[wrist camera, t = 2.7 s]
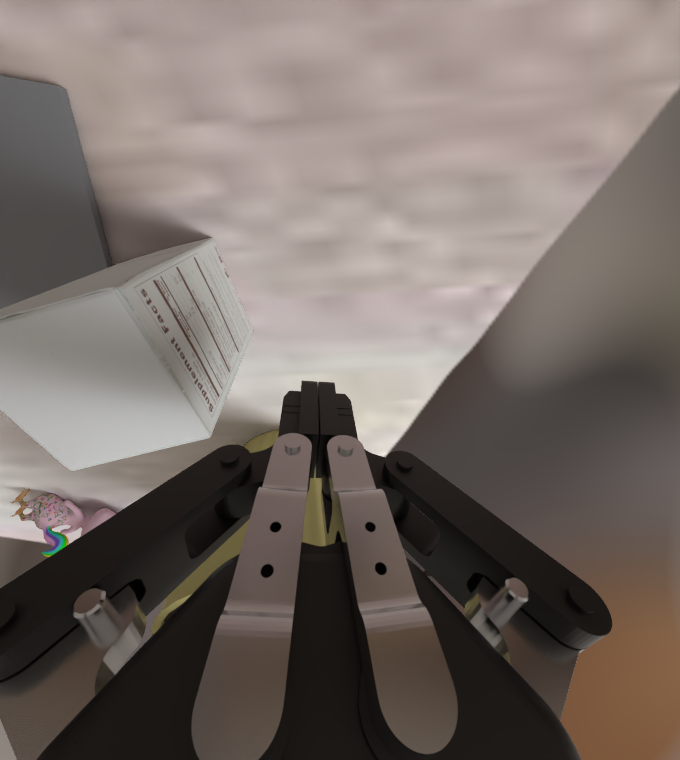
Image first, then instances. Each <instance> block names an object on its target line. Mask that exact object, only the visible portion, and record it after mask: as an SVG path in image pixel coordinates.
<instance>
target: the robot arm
mask: <svg viewBox="0 0 680 760" xmlns="http://www.w3.org/2000/svg"><path fill="white" fill-rule="evenodd" d="M315 472H316V478H321V479H322V487H321V505H322V514H323V523H324V532H325V544H326V546H316V545H312V544H308V543H304V542H302V538H303V529H304V520H305V510H306V501H307V493H308V491H309V488H310V479H311V478H314V473H315ZM411 503H412V504H413V505H414V506H413V505H412V504H411ZM417 508H418V509H419V510H420V511H421V512H422V513H421V512H420V511H419V510H418V509H417ZM423 514H425V515H426V516H427V517H428V518H429V519H428V518H427V517H426V516H425V515H423ZM248 520H249V523H248V527H247V530H246V534H245V537H244V541H243V544H242V548H241V552H240V554H238V555H236V556H235V557H233V558H231V559H229V560H228V561H226V562H225V563H223V564H222V565H221V566H220V567H218V568H217V569H216V570H215V571H214V572H213V573H212V574H211V575H210V576H209V577H208V578H207V579H206V580H205V581H204V582H203V583H202V584H201V585H200V586H199V587H198V588H197V589H196V590H195V592H194V593H193V594H192V595H191V596H190V597H189V598H188V599H187V600H186V601H185V602H184V603H183V604H182V605H181V606H180V607H179V608H178V609H177V610H176V611H175V613H174V614H173V615H172V616H171V617H170V618H169V619H168V620H167V621H166V622H165V623H164V624H163V625H162V626H161V627H160V628H159V629H158V630H157V631H156V632H155V634H154V635H153V636H152V637H151V638H150V639H149V640H148V641H147V642H146V643H145V644H144V645H143V646H142V647H141V648H140V649H139V650H138V651H137V652H136V653H135V655H134V656H133V657H132V658H131V659H130V660H129V661H128V662H127V663H126V664H125V665H124V666H123V664H124V663H125V661H126V660H127V659H128V658H129V657H130V655H131V654H132V653H133V652H134V651H135V649H136V648H137V646H138V645H139V643H140V641H141V639H142V637H143V634H144V631H145V627H146V616H147V615H148V614H149V613H150V612H151V611H152V610H153V609H154V608H155V607H156V606H157V605H159V604H160V603H161V602H162V601H163V600H164V599H165V598H166V597H167V596H168V595H169V594H170V593H171V592H172V591H174V590H175V589H176V588H177V587H178V586H179V585H180V584H181V583H182V582H183V581H184V580H185V579H186V578H187V577H188V576H190V575H191V574H192V573H193V572H194V571H195V570H196V569H197V568H198V567H199V566H200V565H201V564H202V563H203V562H204V561H206V560H207V559H208V558H209V557H210V556H211V555H212V554H213V553H214V552H215V551H216V550H217V549H218V548H219V547H220V546H222V545H223V544H224V543H225V542H226V541H227V540H228V539H229V538H230V537H231V536H232V535H233V534H234V533H235V532H236V531H238V530H239V529H240V528H241V527H242V526H243V525H244V524H245V523H246V522H247V521H248ZM432 521H433V522H434V523H435V524H436V525H435V524H434V523H433V522H432ZM403 548H404V549H405V550H406V551H407V552H408V553H409V554H410V555H411V556H412V557H413V558H414V559H415V560H416V561H417V562H418V563H419V564H420V565H421V566H422V567H423V568H424V569H425V570H426V571H427V572H428V573H429V574H430V575H431V576H432V577H433V578H434V579H435V580H436V581H437V582H438V583H439V584H440V585H441V586H442V587H443V588H444V589H445V590H446V591H448V592H449V594H450V595H451V596H452V597H454V599H456V600H457V601H458V602H459V603H460V604H461V605H462V606H463V607H464V608H465V614H466V617H465V616H464V615H463V614H462V613H461V612H460V611H459V610H458V609H457V608H456V607H455V605H454V604H453V603H452V602H451V601H450V600H449V599H448V598H447V597H446V596H445V595H444V594H443V593H442V592H441V591H440V590H439V589H438V588H437V586H436V585H435V584H434V583H433V582H432V581H431V580H430V579H429V578H428V577H427V576H426V575H425V574H424V573H423V572H422V571H421V570H420V569H419V568H418V567H417V566H416V565H415V564H414V563H413V562H412V561H410V560H409V559H407V558H406V557H405V554H404V551H403ZM611 628H612V619H611V615H610V613H609V610H608V608H607V606H606V605H605V603H604V602H603V600H602V599H601V598H600V596H599V595H598V594H597V593H596V592H595V591H594V590H593V589H592V588H591V587H590V586H589V585H588V584H586V583H585V582H584V581H583V580H581V579H580V578H579V577H577V576H576V575H575V574H573V573H572V572H570V571H569V570H568V569H566V568H565V567H564V566H562V565H561V564H560V563H558V562H557V561H556V560H554V559H553V558H552V557H550V556H549V555H548V554H546V553H545V552H544V551H542V550H541V549H539V548H538V547H536V546H535V545H534V544H533V543H531V542H530V541H529V540H527V539H526V538H524V537H523V536H522V535H521V534H519V533H518V532H517V531H515V530H514V529H512V528H511V527H510V526H508V525H507V524H506V523H504V522H503V521H502V520H500V519H499V518H498V517H496V516H495V515H494V514H492V513H491V512H490V511H488V510H487V509H485V508H484V507H483V506H482V505H480V504H479V503H477V502H476V501H475V500H473V499H472V498H471V497H469V496H468V495H467V494H465V493H464V492H462V491H461V490H460V489H459V488H457V487H456V486H455V485H453V484H452V483H450V482H449V481H448V480H446V479H445V478H444V477H442V476H441V475H439V474H438V473H437V472H436V471H434V470H433V469H432V468H430V467H429V466H427V465H426V464H425V463H424V462H422V461H421V460H419V459H418V458H417V457H415V456H414V455H412V454H410V453H408V452H404V451H394V452H391V453H389V454H388V455H387V457H386V458H385V457H381V456H378V455H375V454H372V453H370V452H368V451H366V450H365V449H364V447H363V445H362V443H361V442H360V441H359V440H358V438H357V432H356V427H355V421H354V416H353V410H352V405H351V401H350V399H349V398H348V397H347V396H346V395H345V394H336V391H335V383H331V382H319V383H318V382H314V381H302V385H301V392H300V391H289V392H288V393H287V394H286V395H285V396H284V399H283V407H282V413H281V420H280V427H279V434H278V438H277V439H276V441H275V442H274V444H273V445H272V446H271V447H269V448H267V449H265V450H262V451H258V452H254V453H250V452H249V450H248V449H246V448H245V447H243V446H240V445H226V446H223V447H220V448H218V449H216V450H215V451H213V452H212V453H210V454H209V455H207V456H206V457H204V458H202V459H201V460H199V461H198V462H196V463H195V464H193V465H192V466H190V467H188V468H187V469H185V470H184V471H182V472H181V473H179V474H178V475H176V476H174V477H173V478H171V479H170V480H168V481H167V482H165V483H164V484H162V485H160V486H159V487H157V488H156V489H154V490H153V491H151V492H150V493H148V494H146V495H145V496H143V497H142V498H140V499H139V500H137V501H136V502H134V503H132V504H131V505H129V506H128V507H126V508H125V509H123V510H122V511H120V512H118V513H117V514H115V515H114V516H112V517H111V518H109V519H108V520H106V521H104V522H103V523H101V524H100V525H98V526H97V527H95V528H94V529H92V530H90V531H89V532H87V533H86V534H84V535H83V536H81V537H80V538H78V539H76V540H75V541H73V542H72V543H70V544H69V545H67V546H66V547H64V548H62V549H61V550H59V551H58V552H56V553H55V554H53V555H52V556H50V557H48V558H47V559H45V560H44V561H42V562H41V563H39V564H38V565H36V566H35V567H33V568H31V569H30V570H28V571H27V572H25V573H24V574H22V575H21V576H19V577H17V578H16V579H14V580H13V581H11V582H10V583H8V584H7V585H5V586H3V587H2V588H0V719H1V722H2V724H3V727H4V729H5V732H6V734H7V737H8V739H9V741H10V744H11V746H12V749H13V751H14V754H15V756H16V758H17V760H581V758H580V756H579V753H578V751H577V749H576V747H575V745H574V743H573V742H572V740H571V738H570V736H569V734H568V733H567V731H566V729H565V728H564V726H563V725H562V723H561V721H560V719H561V716H562V712H563V708H564V705H565V701H566V697H567V694H568V689H569V686H570V683H571V678H572V675H573V671H574V668H575V664H576V661H577V657H578V654H579V653H580V652H582V651H583V650H585V649H586V648H588V647H589V646H591V645H592V644H593V643H595V642H597V641H598V640H599V639H601V638H602V637H604V636H605V635H607V634H608V633H609V632H610V631H611ZM122 666H123V667H122ZM121 667H122V668H121ZM120 668H121V669H120Z"/></svg>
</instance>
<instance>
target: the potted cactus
mask: <svg viewBox="0 0 680 760" xmlns="http://www.w3.org/2000/svg"><path fill="white" fill-rule="evenodd" d="M278 434H279V430H275V431H270V432H266V433H264V434H261V435H259V436H257V437H255V438H253V439H252V440H250V441H249V442H248V443H247V444H246V445H245V446H244V447H245V448H246V449H248V450H249V452H250V453H254V452H258V451H262V450H265V449H267V448H269V447H271V446H272V445H273V444H274V442H275V441H276V439H277V438H278ZM321 487H322V479H321V478H316V472H315V473H314V478H311V479H310V488H309V491H308V493H307V501H306V510H305V520H304V529H303V538H302V542H304V543H308V544H312V545H316V546H326V544H325V532H324V523H323V514H322V505H321ZM248 523H249V520H248V521H247V522H246V523H245V524H244V525H243V526H242V527H241V528H240V529H239V530H238V531H236V532H235V533H234V534H233V535H232V536H231V537H230V538H229V539H228V540H227V541H226V542H225V543H224V544H223V545H222V546H220V547H219V548H218V549H217V550H216V551H215V552H214V553H213V554H212V555H211V556H210V557H209V558H208V559H207V560H206V561H204V562H203V563H202V564H201V565H200V566H199V567H198V568H197V569H196V570H195V571H194V572H193V573H192V574H191V575H190V576H188V577H187V578H186V579H185V580H184V581H183V582H182V583H181V584H180V585H179V586H178V587H177V588H176V589H175V590H174V591H172V592H171V593H170V594H169V595H168V596H167V598H166V600H165V603H164V605H163V608H162V610H161V612H160V613H159V615H158V616H157V617H156V618H155V620H154V622H153V627H152V631H151V632H152V635H154V634H155V632H156V631H157V630H158V629H159V628H160V627H161V626H162V625H163V624H164V623H165V622H166V621H167V620H168V619H169V618H170V617H171V616H172V615H173V614H174V613H175V611H176V610H177V609H178V608H179V607H180V606H181V605H182V604H183V603H184V602H185V601H186V600H187V599H188V598H189V597H190V596H191V595H192V594H193V593H194V592H195V590H196V589H197V588H198V587H199V586H200V585H201V584H202V583H203V582H204V581H205V580H206V579H207V578H208V577H209V576H210V575H211V574H212V573H213V572H214V571H215V570H216V569H217V568H218V567H220V566H221V565H222V564H223V563H225V562H226V561H228V560H229V559H231V558H233V557H235V556H236V555H238V554H240V552H241V548H242V544H243V541H244V537H245V534H246V530H247V527H248Z"/></svg>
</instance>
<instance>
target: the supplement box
mask: <svg viewBox="0 0 680 760" xmlns="http://www.w3.org/2000/svg"><path fill="white" fill-rule="evenodd" d="M252 334H253V329H252V327H251V324H250V322H249V320H248V317H247V315H246V313H245V310H244V308H243V306H242V303H241V301H240V299H239V297H238V294H237V292H236V289H235V287H234V285H233V282H232V280H231V278H230V275H229V273H228V271H227V268H226V266H225V264H224V262H223V259H222V257H221V255H220V252H219V250H218V248H217V245H216V243H215V241H214V239H213V238H207V239H203V240H199V241H195V242H191V243H187V244H183V245H179V246H175V247H171V248H167V249H164V250H160V251H157V252H153V253H150V254H147V255H144V256H140V257H137V258H134V259H131V260H128V261H125V262H122V263H118V264H116V265H114V266H111V267H109V268H106V269H103V270H101V271H98V272H96V273H93V274H91V275H88V276H86V277H83V278H80V279H78V280H75V281H72V282H70V283H67V284H65V285H62V286H60V287H57V288H54V289H52V290H49V291H46V292H44V293H41V294H39V295H36V296H33V297H31V298H28V299H26V300H23V301H20V302H18V303H15V304H13V305H10V306H7V307H5V308H2V309H0V410H1V411H2V412H3V413H4V414H5V415H7V416H8V417H9V418H10V419H11V420H12V421H13V422H15V423H16V424H17V425H18V426H19V427H20V428H21V429H22V430H23V431H25V432H26V433H27V434H28V435H29V436H30V437H31V438H32V439H34V440H35V441H36V442H37V443H38V444H39V445H40V446H42V447H43V448H44V449H45V450H46V451H47V452H48V453H49V454H51V455H52V456H53V457H54V458H55V459H56V460H57V461H58V462H60V463H61V464H62V465H63V466H65V467H66V468H67V469H69V470H70V471H76V470H80V469H84V468H88V467H92V466H96V465H100V464H104V463H108V462H112V461H116V460H120V459H125V458H129V457H133V456H137V455H141V454H145V453H150V452H154V451H158V450H162V449H166V448H170V447H174V446H179V445H183V444H187V443H191V442H195V441H199V440H204V439H208V438H210V437H211V435H212V432H213V430H214V427H215V425H216V422H217V420H218V418H219V415H220V413H221V410H222V408H223V405H224V403H225V400H226V398H227V395H228V393H229V391H230V388H231V386H232V383H233V381H234V378H235V376H236V373H237V371H238V368H239V366H240V363H241V361H242V358H243V356H244V354H245V351H246V349H247V346H248V344H249V341H250V339H251V336H252Z"/></svg>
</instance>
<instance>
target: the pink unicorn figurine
mask: <svg viewBox="0 0 680 760" xmlns="http://www.w3.org/2000/svg"><path fill="white" fill-rule="evenodd" d="M29 490H30V489H28V491H27V490H26V489H25V491H23V492H22V493H21V494H20V495H19V496H18V497H17V498H16V499H15V501H13V502H11V503H14V502H16V501H19V503H20V504H21V508H19V509H18V510H17V511H16V513H15V515H17V514H19V516H20V518H21V521H26V520H32V521H34V522H35V524H36V526H37V527H38V528H40V529H43V532H44V538H45V540H46V542H47V543H49V544H50V545H52V546H53V548H52V549H51V550H48V551H45V552H41V553H42V554H43V555H44V556H46V557H50V556H52V555H53V554H55V553H56V552H58V551H59V550H61V549H62V548H64V547H66V546H67V545H68V538H67V537H66V536H65V534H68V533H71V532H74V531H75V530H77V529H79V528H80V527H82V528H83V530H82V533H81V536H83V535H84V534H86V533H87V532H89V531H90V530H92V529H94V528H95V527H97V526H98V525H100V524H101V523H103V522H104V521H106V520H108V519H109V518H111V517H112V516H114V515H115V514H116V513H114V512H113V511H111V510H110V509H108V508H102V509H100V510H98V511H97V512H96V513H95V514H94V515H93V516H92V517H87V516H86V515H85V514H84V513H83V511H82V510H81V509H80V508H77V507H76V506H75V505H74V504H73V503H72V502H71V501H69V500H66V501H63V500H62V499H60V498H59V497H58V496H57V495H55V494H44V495H41V496H39V497H37V498H36V499H33V500H31V501H29V502H24V501H23V497H24V496H25V495H26V494H27V492H29ZM26 491H27V492H26ZM26 507H28V508H31V509H33V511H32V512H31V513H29V514H27V515H24V514H23V511H24V509H25V508H26ZM15 515H12V516H10V517H13V516H15ZM60 525H70V526H71V527H70V528H69V529H64V530H62V531H61V532H60V533H59V532H54V531H52V528H55V527H57V526H60Z"/></svg>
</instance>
